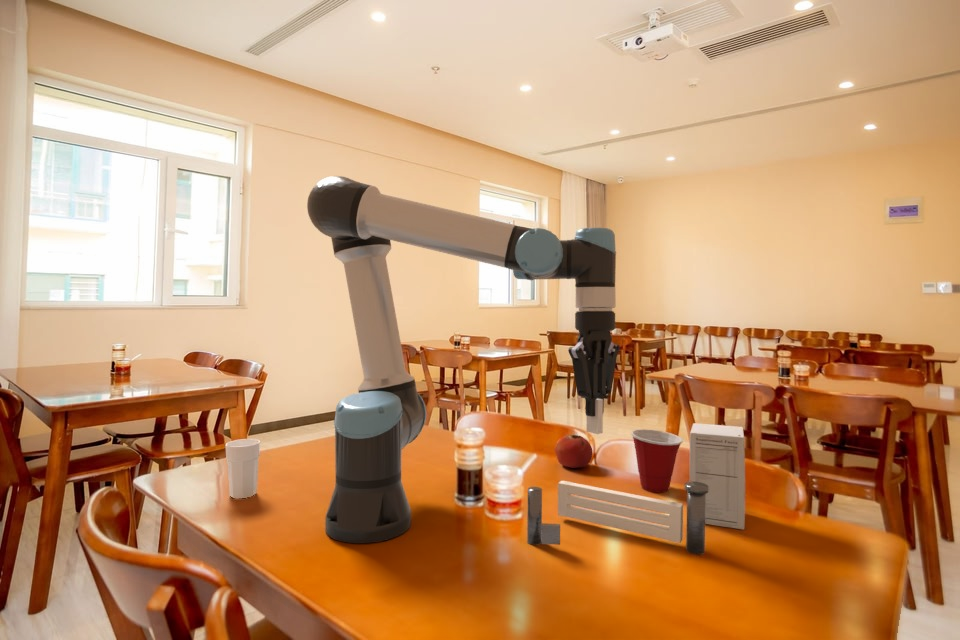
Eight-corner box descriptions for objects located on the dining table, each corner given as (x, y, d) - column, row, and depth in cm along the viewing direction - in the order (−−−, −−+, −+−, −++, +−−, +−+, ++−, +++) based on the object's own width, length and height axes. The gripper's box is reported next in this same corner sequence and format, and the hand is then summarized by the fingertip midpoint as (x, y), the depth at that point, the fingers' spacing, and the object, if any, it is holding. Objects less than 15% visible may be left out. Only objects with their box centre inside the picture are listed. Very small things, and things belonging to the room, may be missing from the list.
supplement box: (744, 513, 104) (745, 426, 103) (745, 531, 95) (747, 437, 95) (691, 505, 108) (692, 421, 107) (687, 521, 99) (689, 431, 99)
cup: (218, 498, 110) (218, 444, 110) (243, 487, 117) (243, 437, 116) (242, 502, 108) (242, 448, 108) (267, 492, 114) (267, 440, 114)
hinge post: (687, 555, 86) (688, 488, 86) (681, 545, 90) (682, 481, 89) (710, 556, 86) (711, 489, 85) (703, 546, 89) (704, 481, 89)
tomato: (554, 460, 138) (555, 429, 138) (591, 462, 137) (591, 431, 137) (554, 471, 129) (555, 438, 129) (593, 473, 128) (594, 440, 128)
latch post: (526, 549, 88) (527, 494, 88) (527, 538, 92) (527, 486, 92) (560, 550, 87) (560, 496, 87) (559, 540, 91) (559, 487, 91)
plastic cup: (677, 500, 110) (678, 442, 110) (625, 491, 115) (625, 436, 115) (686, 485, 119) (686, 432, 119) (636, 477, 125) (637, 426, 124)
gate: (557, 514, 100) (558, 483, 100) (561, 511, 101) (562, 480, 101) (680, 543, 88) (680, 507, 88) (682, 539, 90) (683, 503, 89)
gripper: (600, 309, 110) (600, 424, 110) (557, 310, 101) (557, 433, 102) (631, 309, 104) (631, 430, 105) (588, 310, 96) (588, 441, 96)
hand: (594, 432), depth 103 cm, fingers closed
